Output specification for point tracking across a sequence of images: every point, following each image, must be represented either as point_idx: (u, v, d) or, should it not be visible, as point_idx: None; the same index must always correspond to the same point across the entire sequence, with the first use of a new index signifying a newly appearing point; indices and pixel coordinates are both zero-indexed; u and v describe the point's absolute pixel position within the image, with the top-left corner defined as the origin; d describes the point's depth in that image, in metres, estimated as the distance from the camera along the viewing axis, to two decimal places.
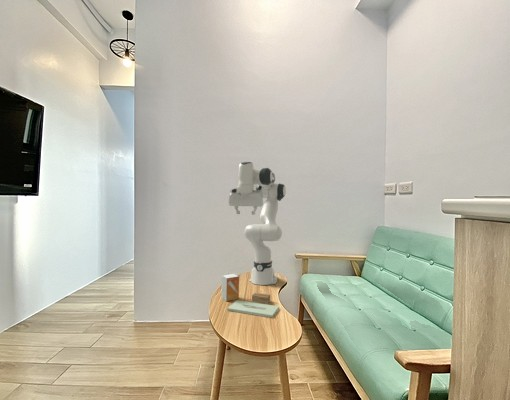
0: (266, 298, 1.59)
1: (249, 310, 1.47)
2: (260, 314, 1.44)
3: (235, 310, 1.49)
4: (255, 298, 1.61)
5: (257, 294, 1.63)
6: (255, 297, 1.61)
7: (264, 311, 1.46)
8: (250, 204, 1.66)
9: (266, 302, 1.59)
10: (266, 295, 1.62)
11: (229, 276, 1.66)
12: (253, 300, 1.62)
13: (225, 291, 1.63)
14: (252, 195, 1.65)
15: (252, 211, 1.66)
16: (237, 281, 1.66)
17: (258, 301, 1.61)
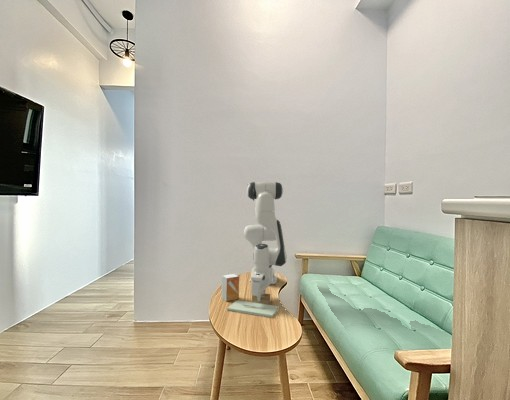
0: (266, 298, 1.59)
1: (249, 310, 1.47)
2: (260, 314, 1.44)
3: (235, 310, 1.49)
4: (255, 297, 1.61)
5: None
6: (255, 297, 1.61)
7: (264, 311, 1.46)
8: (266, 286, 1.65)
9: (266, 302, 1.59)
10: (266, 295, 1.62)
11: (229, 276, 1.66)
12: (253, 299, 1.62)
13: (225, 291, 1.63)
14: None
15: None
16: (237, 281, 1.66)
17: (258, 301, 1.61)
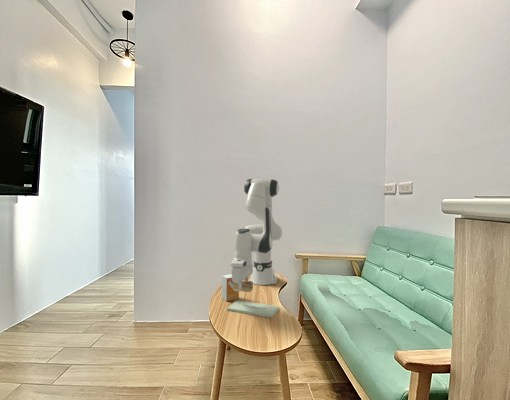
0: (248, 285, 1.49)
1: (249, 310, 1.47)
2: (260, 314, 1.44)
3: (235, 310, 1.49)
4: (237, 285, 1.51)
5: None
6: (236, 284, 1.52)
7: (264, 311, 1.46)
8: (248, 274, 1.56)
9: (248, 289, 1.49)
10: (248, 282, 1.52)
11: (229, 276, 1.66)
12: (234, 287, 1.52)
13: (225, 291, 1.63)
14: (249, 264, 1.57)
15: None
16: None
17: (239, 289, 1.51)
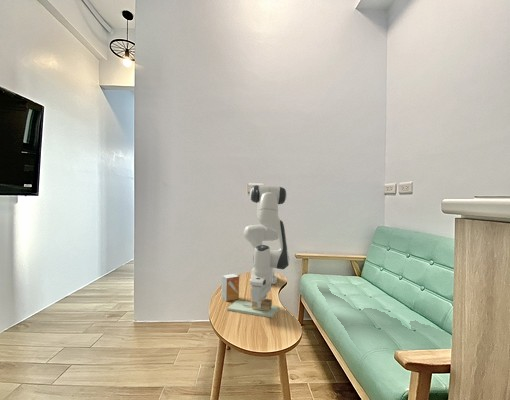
0: (267, 304, 1.46)
1: (249, 310, 1.47)
2: (260, 314, 1.44)
3: (235, 310, 1.49)
4: (255, 303, 1.48)
5: None
6: (255, 303, 1.48)
7: (264, 311, 1.46)
8: (267, 291, 1.52)
9: (267, 308, 1.46)
10: (267, 300, 1.49)
11: (229, 276, 1.66)
12: (253, 305, 1.49)
13: (225, 291, 1.63)
14: None
15: None
16: (237, 281, 1.66)
17: (258, 307, 1.48)
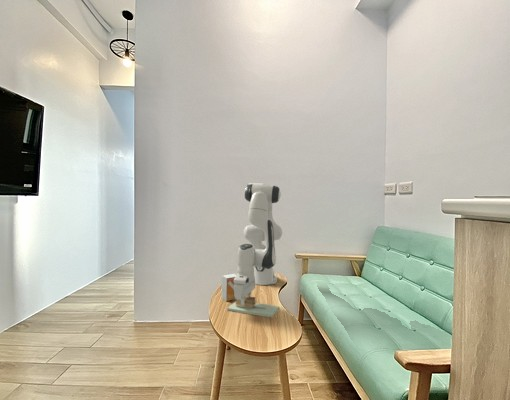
0: (250, 301, 1.49)
1: (249, 310, 1.47)
2: (260, 314, 1.44)
3: (235, 310, 1.49)
4: (239, 301, 1.51)
5: None
6: (239, 300, 1.51)
7: (264, 311, 1.46)
8: (251, 289, 1.56)
9: (250, 306, 1.49)
10: (251, 298, 1.52)
11: (229, 276, 1.66)
12: (237, 303, 1.52)
13: (225, 291, 1.63)
14: None
15: None
16: None
17: None
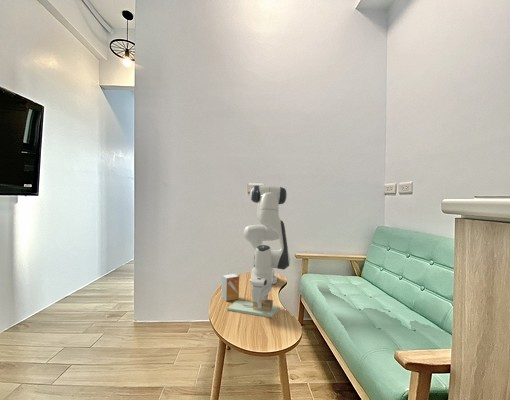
0: (268, 304, 1.46)
1: (249, 310, 1.47)
2: (260, 314, 1.44)
3: (235, 310, 1.49)
4: (256, 304, 1.48)
5: None
6: (256, 303, 1.48)
7: (264, 311, 1.46)
8: (268, 292, 1.52)
9: (268, 309, 1.46)
10: (268, 301, 1.49)
11: (229, 276, 1.66)
12: (254, 306, 1.49)
13: (225, 291, 1.63)
14: None
15: None
16: (237, 281, 1.66)
17: None
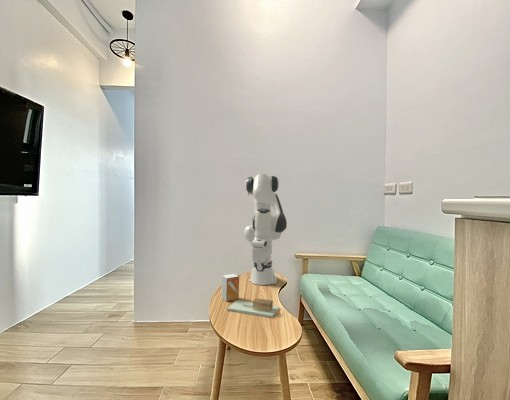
0: (268, 304, 1.46)
1: (249, 310, 1.47)
2: (260, 314, 1.44)
3: (235, 310, 1.49)
4: (256, 304, 1.48)
5: (258, 300, 1.50)
6: (256, 303, 1.48)
7: (264, 311, 1.46)
8: (268, 255, 1.54)
9: (268, 309, 1.46)
10: (268, 301, 1.49)
11: (229, 276, 1.66)
12: (254, 306, 1.49)
13: (225, 291, 1.63)
14: (269, 245, 1.55)
15: (267, 261, 1.55)
16: (237, 281, 1.66)
17: (259, 307, 1.48)
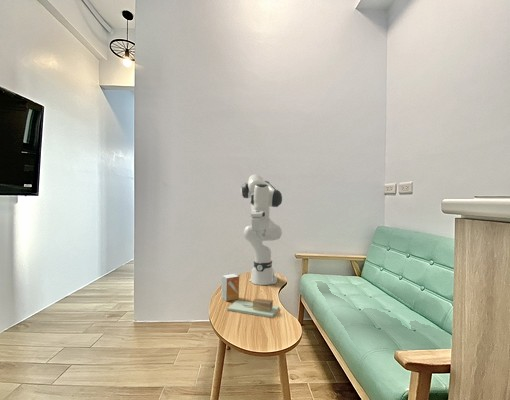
0: (268, 304, 1.46)
1: (249, 310, 1.47)
2: (260, 314, 1.44)
3: (235, 310, 1.49)
4: (256, 304, 1.48)
5: (258, 300, 1.50)
6: (256, 303, 1.48)
7: (264, 311, 1.46)
8: (266, 227, 1.67)
9: (268, 309, 1.46)
10: (268, 301, 1.49)
11: (229, 276, 1.66)
12: (254, 306, 1.49)
13: (225, 291, 1.63)
14: (267, 217, 1.68)
15: (265, 233, 1.68)
16: (237, 281, 1.66)
17: (259, 307, 1.48)
